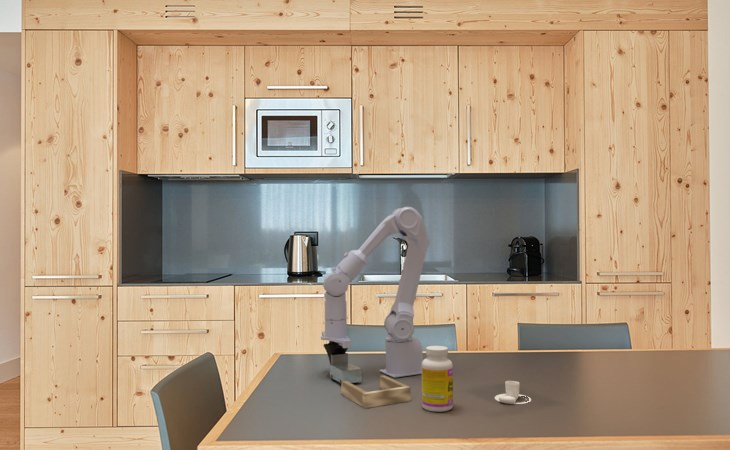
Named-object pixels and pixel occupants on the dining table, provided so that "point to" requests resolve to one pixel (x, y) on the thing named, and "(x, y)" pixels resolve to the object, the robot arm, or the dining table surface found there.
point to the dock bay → (377, 393)
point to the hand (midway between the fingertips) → (336, 371)
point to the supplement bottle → (437, 380)
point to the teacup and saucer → (510, 393)
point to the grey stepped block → (344, 369)
